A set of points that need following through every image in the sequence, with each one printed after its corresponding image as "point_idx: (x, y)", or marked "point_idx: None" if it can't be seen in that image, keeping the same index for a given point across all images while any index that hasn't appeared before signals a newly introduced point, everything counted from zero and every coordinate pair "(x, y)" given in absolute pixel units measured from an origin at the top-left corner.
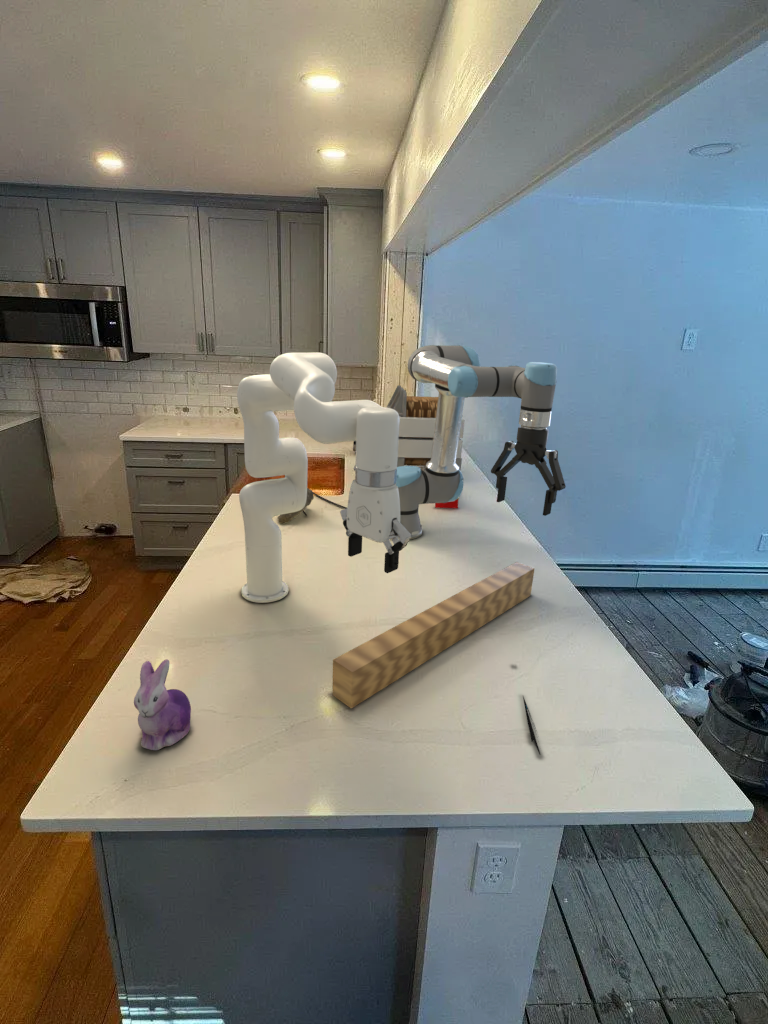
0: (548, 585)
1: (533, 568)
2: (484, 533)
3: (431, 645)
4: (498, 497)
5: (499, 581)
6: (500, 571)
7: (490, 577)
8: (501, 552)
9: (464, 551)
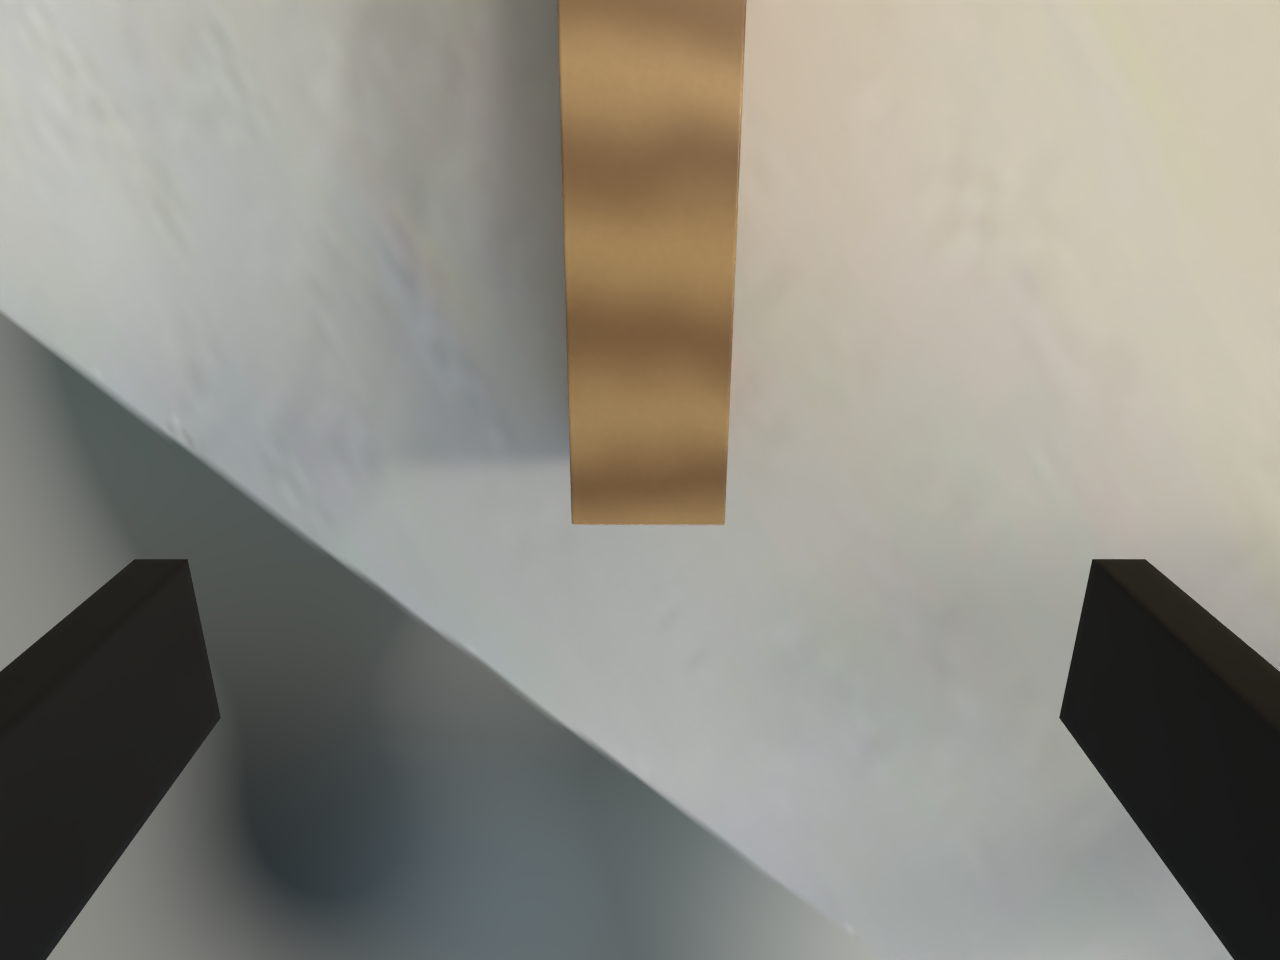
0: (584, 633)
1: (575, 515)
2: (1203, 931)
3: None
4: (1164, 602)
5: (628, 102)
6: (723, 279)
7: (722, 112)
8: (1001, 796)
9: None
